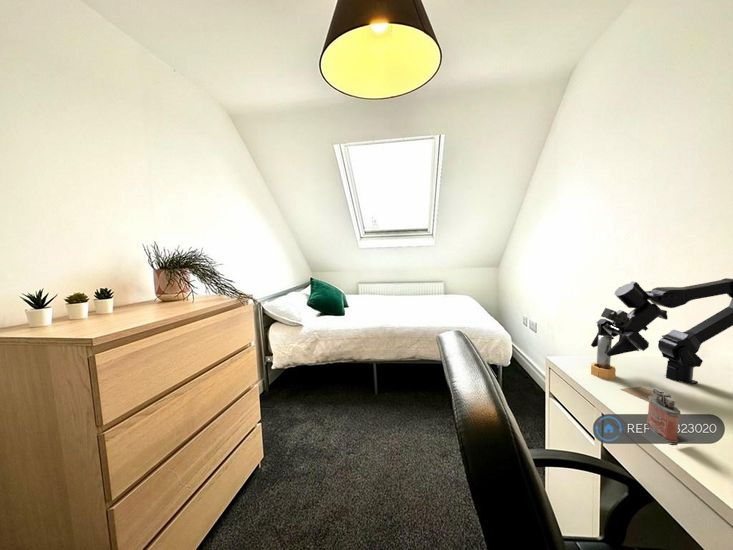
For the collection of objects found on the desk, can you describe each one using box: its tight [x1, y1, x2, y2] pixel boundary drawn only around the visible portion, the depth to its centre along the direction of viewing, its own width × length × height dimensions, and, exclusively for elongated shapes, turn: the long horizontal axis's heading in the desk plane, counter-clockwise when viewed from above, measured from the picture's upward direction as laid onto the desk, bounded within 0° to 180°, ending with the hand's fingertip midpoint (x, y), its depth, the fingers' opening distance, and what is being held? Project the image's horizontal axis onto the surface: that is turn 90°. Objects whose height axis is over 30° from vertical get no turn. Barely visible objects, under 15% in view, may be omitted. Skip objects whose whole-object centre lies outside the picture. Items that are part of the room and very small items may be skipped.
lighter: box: [646, 387, 682, 446], centre depth 76 cm, size 8×3×10 cm, turn 168°
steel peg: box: [596, 335, 613, 369], centre depth 108 cm, size 4×4×13 cm
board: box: [619, 386, 656, 403], centre depth 95 cm, size 8×8×1 cm
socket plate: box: [590, 362, 617, 380], centre depth 109 cm, size 9×9×4 cm
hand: (599, 350), depth 108 cm, fingers open, 9 cm apart
